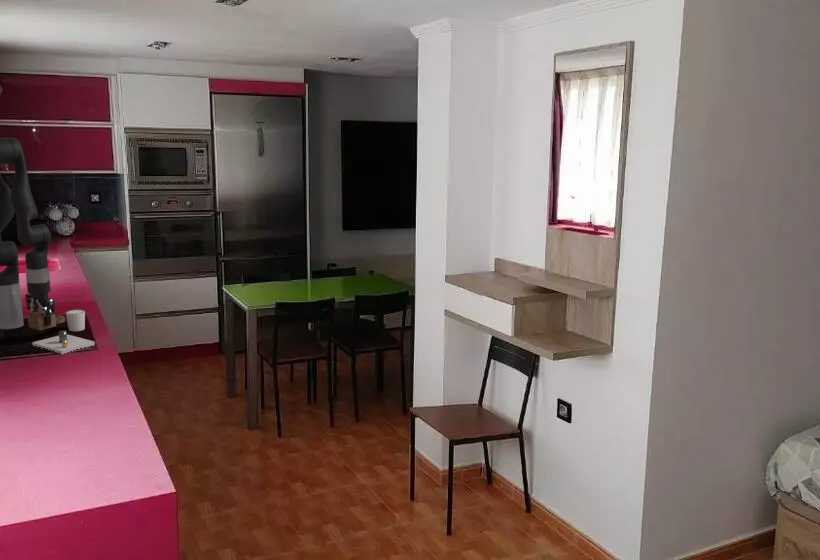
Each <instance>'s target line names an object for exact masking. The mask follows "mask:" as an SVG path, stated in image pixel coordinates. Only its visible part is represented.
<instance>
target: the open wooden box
mask: <svg viewBox="0 0 820 560" xmlns="http://www.w3.org/2000/svg"><path fill="white" fill-rule="evenodd" d="M45 311H46V313H47V310H45ZM27 318H28V319H27V320H28V321H27V322H28V328H31V329H34V330H37V331H44V330H47V329H50V328H54V327H57V325H58V324H61V323H65V322H66V316H64V315H57V316H56V313H55V314H54V315H51V325H50V326H45V325H44V314H43V312H42V311H41V310H38V311H37V312H34V313H31V312H30V313H27Z"/></svg>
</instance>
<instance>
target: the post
mask: <svg viewBox="0 0 820 560" xmlns="http://www.w3.org/2000/svg"><path fill="white" fill-rule="evenodd" d="M58 336H59V342H60V343H62V340H67V330H64V329H63V330H59V331H58Z"/></svg>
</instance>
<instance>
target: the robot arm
mask: <svg viewBox="0 0 820 560" xmlns="http://www.w3.org/2000/svg"><path fill="white" fill-rule="evenodd" d="M11 164H12V166H13V168H14V180H13V183H12V187H11V188H10V187H9V185H8V184H7V183H6V182H5V180H4V179H3V176H2V174H1V172H0V234H1V233H2V231H4V229H5V228H6V227H7V226H8V224H9V223H10V222H11V220H12V218H13V217H14V215H15V217H16V232H17V234H16V235H17V240H18V241H19V242H20V244H21V245H23V246H25V247H31V246H34V248H33V249H32V250H30V251H28V252H26V253H25V255H24V256H25V257H24V259H25V271H26V272H25V276H26V277H25V278H26V288H27V289H26V291H27V293H26V294H24V297H25V305H26V310H27V311H30V313H34V312H38V311H42V312H43V314H44V325H45V326H50V325H51V315H54V314H55V315H56V310H55V309H56V302H55V299H54V298H49V293H50V292H51V277H50V270H49V265H48V254H49V249H50V244H51V239H52V234H51V231H50V229H49V227H48V226H47V225H45V224H42V223H41V224H34V225H33V224H31V225H30V221H32V220H33V219H36V218H37V217H38V215H39V213H38V212H39V211H38V208H37V206H36V204H35V200H34V197H33V194H32V192H31V187H30V182H29V181H30V180H29V175H28V170H27V165H26V159H25V154H24V150H23V146H22V145H21V142H20V141H19V140H18V139H17V138H15V137H13V136H11V137H9V136H8V137H0V166H1V165H11ZM18 251H19V250H18V248H17V245H16V243H15V241H12V240H8V241H0V267H5V268H4V269H3V270H2V271H0V330H13V329H18V328H22V327H23V326H24V315H23V314H24V313H23V305H22V304H23V303H22V295H21V294H22V293H21V285H20V272H19V271H20V269H19V252H18ZM45 310H46V311H47V313H46V311H45Z"/></svg>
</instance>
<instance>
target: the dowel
mask: <svg viewBox="0 0 820 560" xmlns="http://www.w3.org/2000/svg"><path fill="white" fill-rule="evenodd" d="M62 348H67V340H62Z"/></svg>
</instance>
